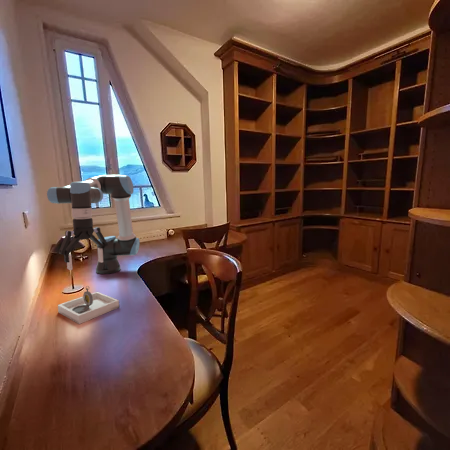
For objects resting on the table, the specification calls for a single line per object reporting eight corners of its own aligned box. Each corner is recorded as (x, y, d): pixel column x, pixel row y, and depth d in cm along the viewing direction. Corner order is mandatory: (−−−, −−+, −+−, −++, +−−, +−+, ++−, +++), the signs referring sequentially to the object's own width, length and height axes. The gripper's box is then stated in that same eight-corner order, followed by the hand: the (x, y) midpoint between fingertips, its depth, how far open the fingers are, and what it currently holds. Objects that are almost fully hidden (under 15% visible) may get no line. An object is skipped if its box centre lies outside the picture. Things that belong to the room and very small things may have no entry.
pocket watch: (68, 314, 108) (66, 291, 106) (79, 305, 116) (78, 284, 115) (87, 313, 108) (86, 291, 107) (97, 305, 116) (96, 284, 115)
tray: (97, 298, 126) (97, 291, 126) (119, 307, 116) (118, 300, 116) (58, 312, 111) (57, 305, 111) (79, 324, 101) (78, 316, 101)
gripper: (54, 221, 96) (59, 274, 99) (114, 216, 117) (116, 260, 120) (45, 220, 100) (50, 271, 103) (104, 215, 121) (107, 258, 124)
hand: (86, 265), depth 111 cm, fingers open, 13 cm apart
